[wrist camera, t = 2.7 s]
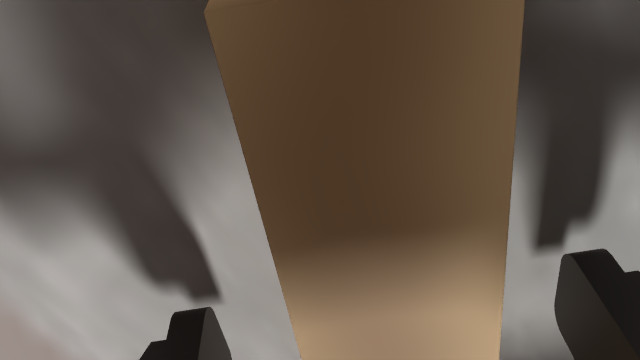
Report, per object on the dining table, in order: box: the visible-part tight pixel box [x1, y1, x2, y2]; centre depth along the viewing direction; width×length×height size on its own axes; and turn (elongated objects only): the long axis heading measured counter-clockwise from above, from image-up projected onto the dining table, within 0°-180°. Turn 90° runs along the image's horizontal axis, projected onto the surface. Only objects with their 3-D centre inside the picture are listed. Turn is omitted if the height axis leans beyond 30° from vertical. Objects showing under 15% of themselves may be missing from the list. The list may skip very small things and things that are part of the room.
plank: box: [204, 0, 525, 360], centre depth 11 cm, size 4×14×3 cm, turn 9°
